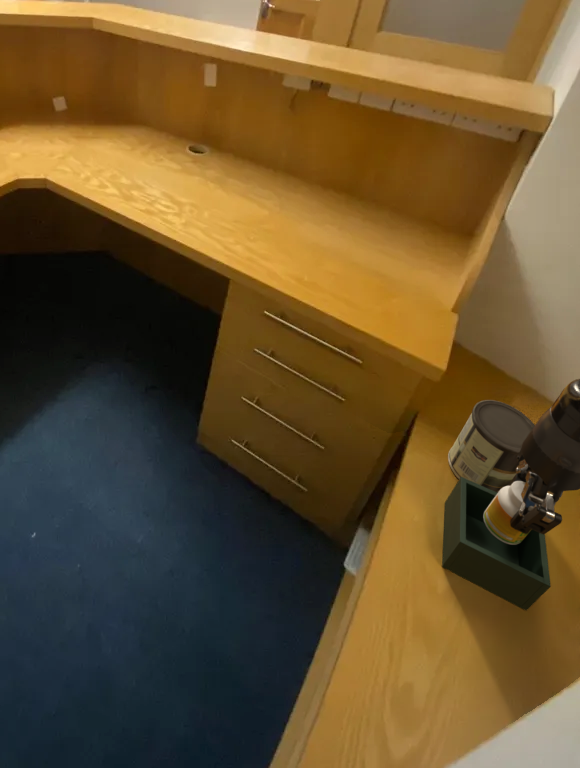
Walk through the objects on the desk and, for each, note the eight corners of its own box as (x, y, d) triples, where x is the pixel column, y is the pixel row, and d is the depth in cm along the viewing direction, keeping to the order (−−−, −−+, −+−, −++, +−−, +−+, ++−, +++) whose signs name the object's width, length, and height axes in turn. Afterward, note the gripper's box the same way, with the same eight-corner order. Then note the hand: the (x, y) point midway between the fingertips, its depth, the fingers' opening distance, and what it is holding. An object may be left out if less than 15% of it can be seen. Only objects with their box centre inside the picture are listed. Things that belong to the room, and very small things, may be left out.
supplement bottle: (516, 554, 77) (544, 522, 72) (477, 525, 80) (501, 492, 75) (526, 528, 80) (553, 495, 75) (488, 501, 84) (512, 468, 79)
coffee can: (511, 464, 98) (543, 420, 90) (506, 509, 91) (540, 465, 83) (451, 433, 103) (477, 389, 96) (442, 474, 96) (469, 430, 89)
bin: (520, 538, 87) (542, 512, 82) (526, 611, 78) (550, 586, 74) (444, 502, 92) (461, 476, 87) (441, 566, 83) (460, 541, 78)
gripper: (613, 508, 62) (551, 571, 71) (592, 416, 72) (541, 480, 81) (538, 477, 65) (489, 540, 74) (529, 393, 76) (487, 457, 84)
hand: (516, 509), depth 77 cm, fingers closed on supplement bottle, 5 cm apart
